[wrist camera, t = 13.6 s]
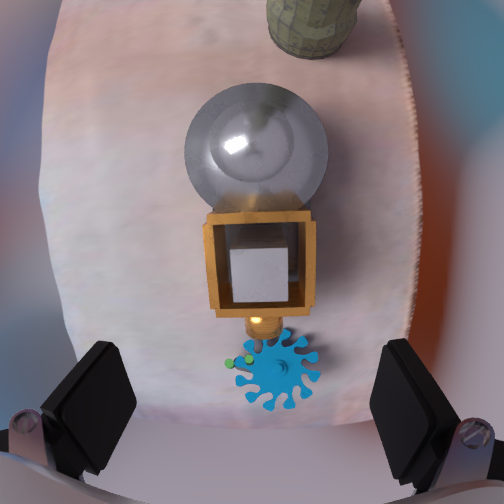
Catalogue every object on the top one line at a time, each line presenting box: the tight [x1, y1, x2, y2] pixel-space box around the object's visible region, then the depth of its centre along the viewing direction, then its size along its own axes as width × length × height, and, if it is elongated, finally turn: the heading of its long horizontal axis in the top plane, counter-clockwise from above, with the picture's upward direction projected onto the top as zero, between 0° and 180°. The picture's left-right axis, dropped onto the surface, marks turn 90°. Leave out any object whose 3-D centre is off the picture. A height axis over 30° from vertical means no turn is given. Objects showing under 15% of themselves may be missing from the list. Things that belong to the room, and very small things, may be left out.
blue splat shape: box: [225, 329, 321, 411], centre depth 33 cm, size 11×6×10 cm
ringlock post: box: [184, 83, 328, 340], centre depth 23 cm, size 22×11×14 cm, turn 3°
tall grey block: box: [230, 224, 288, 302], centre depth 25 cm, size 4×4×10 cm
